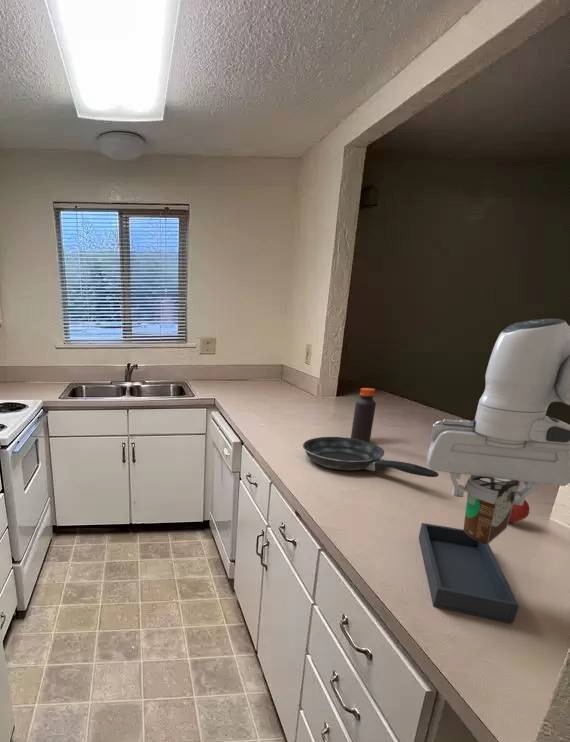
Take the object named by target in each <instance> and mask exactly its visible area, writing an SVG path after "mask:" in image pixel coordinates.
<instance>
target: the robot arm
mask: <svg viewBox="0 0 570 742" xmlns="http://www.w3.org/2000/svg"><path fill="white" fill-rule="evenodd" d="M484 380H485V387H484V391H483V393H482V395H481V396H480V398H479V400H478V404H477V408H476V412H475V417H474V420H472V419H453V418H444V419H443V420H438V421H436V422H434V424H433V425H432V426H431V429H430V433H429V439H430V441H431V442H430V445H429V448H428V451H427V454H426V457H425V458H426V459H425V463H426V465H427V466H428V469H430V470H433V471H435V472H440V473H441V472H442V473H448V477H449V478H450V481H451V483H452V489H451V495H452V497H458V498H463V497H464V493H465V492H466V491H465V489H464V486H465V485H463V484H459V483H458V481H457V480H460V479H461V476H462V475H468V476H471V475H475V476H483V477H492V478H500V479H508V480H517V481H521V482H522V483H523V484H524V486H523V487H521V488H520V489H518V490H517V492H512V493H511V497H510V502H511V504H515V505H523V503H524V500H526V498H527V497H528V496H530V495H531V494H532V493H534V492H535V491H536V490H537V489H538V487H539V484H544V485H549V486H550V485H552V486H559V487H565V486H568V485H569V484H570V424H569V423H567V422H564V421H562V420H560V419H557V418H554V417H551V416H548V415H546V414H547V411H548V408H549V406H550V404H552V403H555V402H556V403H563V404H565V405H567V406H569V407H570V325H569V324H568V323H567V321H566V320H564V319H560V318H541V319H537V318H536V319H529V320H523V321H518V322H515V323H513V324H510V325H508V326H507V327H505V328H503V330H502V331H501V332H500V333H499V335H498V337H497V339H496V341H495V343H494V346H493V348H492V351H491V354H490V356H489V360H488V364H487V367H486V372H485V375H484Z"/></svg>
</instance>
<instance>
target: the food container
mask: <svg viewBox="0 0 570 742" xmlns="http://www.w3.org/2000/svg"><path fill="white" fill-rule="evenodd" d="M521 482H522V481H517V480H508V479H500V478H492V477H483V476H475V475H470V477H469V478H467V480H466V482H465V485H463V486H464V489H465V491H464V492H466V493H467V497H466V505H465V513H464V522H463V523H464V524H463V530H464V532H465V533H466V534H467V535H468V536H469V537H471V538H472V539H474V540H476V541H478V542H480V543H483V544H486V545H488V544H489V545H490V543H491V542H492V541H494V540H495V539H496V538H497V537H499V535H501V534H502V533H503V532H505V531H506V530H507V529H508V525H509V518H510V515H511V511H512V508H513V504H511V502H510V497H511V493H512V492H518V491H519V487H520V486H521Z"/></svg>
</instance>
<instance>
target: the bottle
mask: <svg viewBox="0 0 570 742" xmlns="http://www.w3.org/2000/svg"><path fill="white" fill-rule="evenodd" d="M359 390H360V391H359V397H360V398H359V399H357V400H356V401H355V406H354V412H353V420H352V426H351V432H350V433H351V434H350V438H352V439H358V440H363V441H366V442H370V443H371V437H372V431H373V424H374V418H375V412H376V406H377V403H376V401H375V400H374V398H375V394H376V388H371V387H361V388H360V389H359Z"/></svg>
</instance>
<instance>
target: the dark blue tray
mask: <svg viewBox="0 0 570 742" xmlns="http://www.w3.org/2000/svg"><path fill="white" fill-rule="evenodd" d="M418 541H419V545H420V550H421V555H422V559H423V565H424V569H425V574H426V578H427V584H428V587H429V593H430V598H431V603H432V606H433V607H435V608H439V609H443V610H448V611H452V612H458V613H462V614H466V615H471V616H475V617H479V618H484V619H487V620H492V621H493V620H494V621H498V622H501V623H506V624H510V625H514V622H515V619H516V616H517V613H518V610H519V607H520V605H519V603H518V601H517V599H516V596H515V595H514V593H513V591H512V588H511V586H510V584H509V582H508V580H507V579H506V576H505V574H504V572H503V570H502V568H501V566H500V564H499V562H498V560H497V558H496V556H495V554H494V552H493V550H492V548H491V546H490V543H489V544H488V545H486V544H483V543H480V542H478V541H476V540H474V539H472V538H471V537H469V536H468V535H467V534H466V533H465V532H464V528H463V529H462V528H456V527H451V526H450V527H449V526H443V525H437V524H431V523H426V522H422V523H421V524H420V530H419V533H418Z"/></svg>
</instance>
